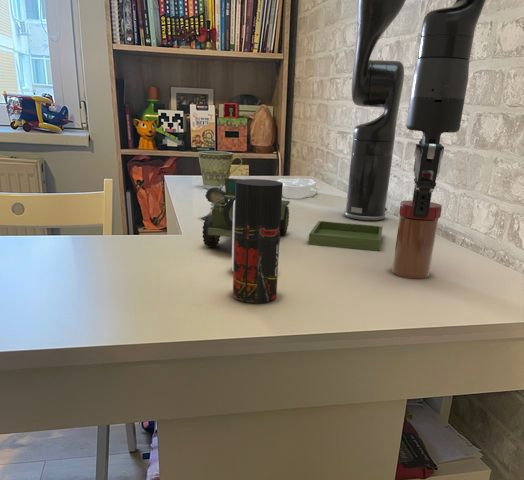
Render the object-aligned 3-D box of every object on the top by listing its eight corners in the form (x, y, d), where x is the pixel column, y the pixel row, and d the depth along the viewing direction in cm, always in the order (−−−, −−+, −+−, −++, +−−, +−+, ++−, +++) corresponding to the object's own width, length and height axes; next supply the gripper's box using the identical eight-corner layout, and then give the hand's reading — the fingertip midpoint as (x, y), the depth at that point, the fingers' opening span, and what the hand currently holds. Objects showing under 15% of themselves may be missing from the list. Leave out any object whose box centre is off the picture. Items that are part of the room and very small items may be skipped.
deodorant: (232, 289, 78) (234, 178, 72) (274, 289, 79) (280, 179, 73) (233, 303, 73) (236, 184, 67) (278, 303, 73) (285, 186, 67)
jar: (392, 266, 93) (401, 202, 89) (427, 270, 92) (439, 205, 88) (391, 276, 88) (401, 207, 83) (429, 280, 87) (441, 211, 82)
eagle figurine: (243, 210, 128) (204, 201, 127) (248, 186, 122) (208, 177, 121) (238, 234, 123) (198, 225, 122) (244, 210, 118) (202, 201, 117)
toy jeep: (289, 230, 115) (292, 175, 111) (264, 260, 93) (267, 193, 89) (232, 225, 118) (233, 171, 113) (195, 253, 95) (194, 187, 91)
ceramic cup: (194, 189, 161) (194, 152, 157) (203, 184, 170) (203, 150, 166) (238, 192, 160) (239, 155, 156) (244, 187, 169) (246, 152, 165)
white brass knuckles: (278, 187, 172) (324, 192, 168) (260, 195, 156) (311, 200, 152) (278, 176, 170) (325, 180, 167) (260, 183, 155) (312, 187, 151)
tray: (317, 230, 117) (318, 220, 116) (381, 236, 115) (382, 226, 114) (308, 244, 105) (309, 233, 104) (379, 250, 103) (380, 240, 102)
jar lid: (399, 210, 89) (400, 199, 89) (438, 213, 88) (440, 202, 88) (398, 217, 84) (400, 205, 83) (441, 221, 83) (443, 208, 82)
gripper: (409, 95, 86) (394, 204, 93) (411, 92, 73) (393, 219, 80) (460, 97, 85) (441, 207, 92) (470, 95, 72) (447, 223, 79)
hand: (419, 212), depth 86 cm, fingers open, 7 cm apart
